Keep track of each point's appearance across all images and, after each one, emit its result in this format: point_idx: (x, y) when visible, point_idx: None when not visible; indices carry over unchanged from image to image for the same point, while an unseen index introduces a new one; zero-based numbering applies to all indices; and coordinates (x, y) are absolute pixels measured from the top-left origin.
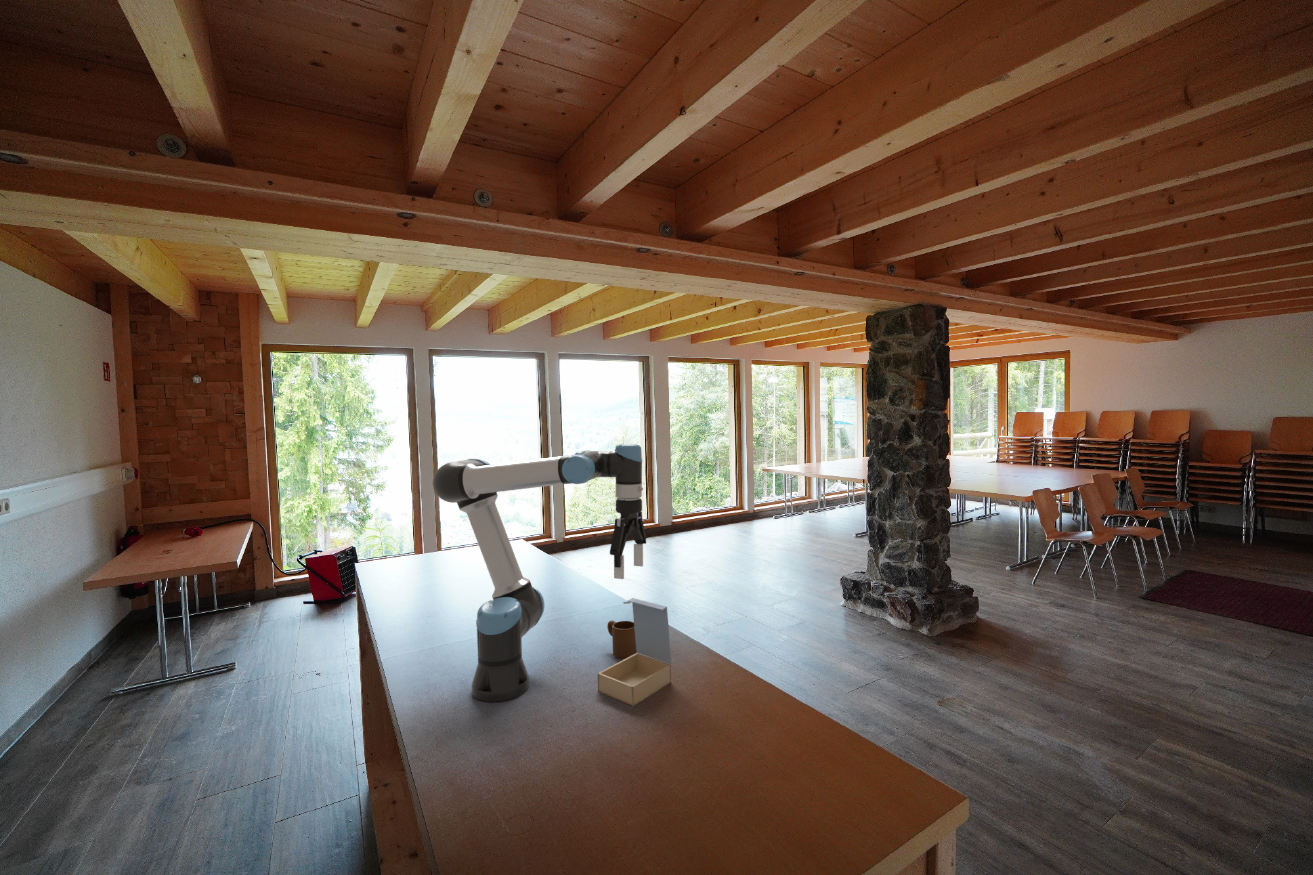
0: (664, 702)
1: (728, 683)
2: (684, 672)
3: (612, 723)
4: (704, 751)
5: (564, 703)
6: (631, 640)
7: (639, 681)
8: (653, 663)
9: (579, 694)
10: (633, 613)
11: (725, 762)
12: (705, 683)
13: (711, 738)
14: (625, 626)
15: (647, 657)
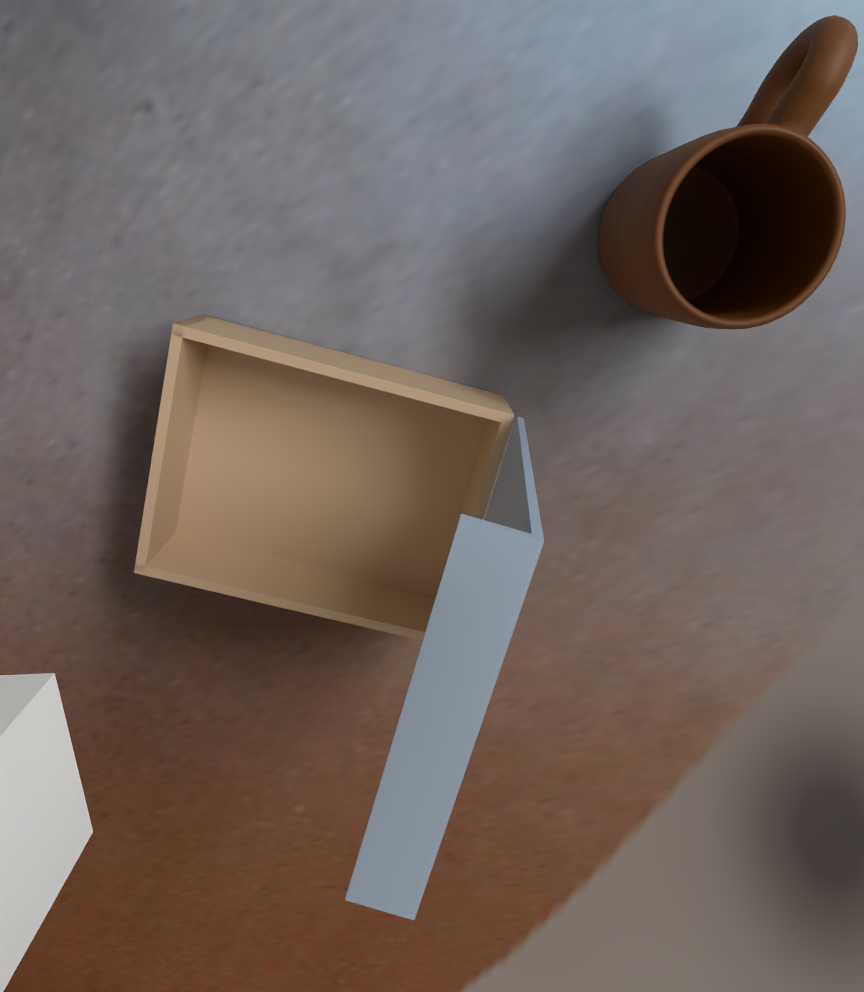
0: (262, 640)
1: (523, 809)
2: (559, 622)
3: (5, 517)
4: None
5: (18, 209)
6: (661, 313)
7: (376, 472)
8: None
9: (133, 235)
10: (525, 489)
11: None
12: (489, 733)
13: (119, 858)
14: (813, 198)
15: (480, 501)
